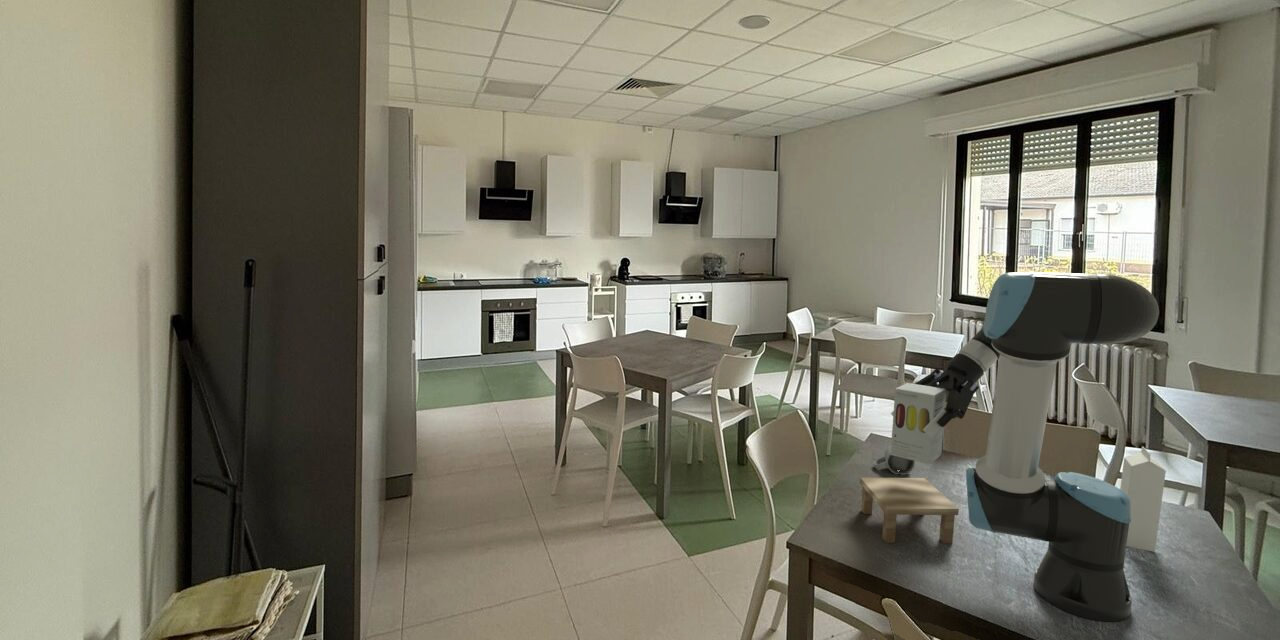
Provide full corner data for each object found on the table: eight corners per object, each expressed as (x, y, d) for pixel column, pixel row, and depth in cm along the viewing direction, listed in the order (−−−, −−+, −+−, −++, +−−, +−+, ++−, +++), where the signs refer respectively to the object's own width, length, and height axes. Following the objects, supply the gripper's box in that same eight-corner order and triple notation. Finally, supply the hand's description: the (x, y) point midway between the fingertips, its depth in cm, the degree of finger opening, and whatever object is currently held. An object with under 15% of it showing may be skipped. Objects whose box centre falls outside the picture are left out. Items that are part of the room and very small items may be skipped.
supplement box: (889, 455, 147) (893, 387, 145) (902, 446, 154) (906, 381, 151) (930, 464, 140) (935, 394, 138) (942, 455, 147) (947, 387, 145)
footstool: (955, 544, 135) (958, 508, 134) (884, 543, 135) (886, 508, 134) (921, 510, 152) (924, 478, 151) (858, 509, 152) (860, 477, 151)
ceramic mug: (908, 465, 181) (909, 441, 180) (914, 476, 173) (915, 450, 172) (871, 463, 183) (872, 439, 182) (875, 473, 176) (876, 448, 174)
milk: (1121, 546, 135) (1132, 452, 132) (1114, 534, 140) (1124, 443, 137) (1156, 552, 132) (1168, 456, 129) (1147, 539, 137) (1158, 447, 134)
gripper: (1018, 385, 135) (952, 452, 134) (947, 363, 159) (891, 420, 159) (999, 362, 133) (932, 430, 133) (930, 343, 157) (873, 401, 157)
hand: (910, 425), depth 146 cm, fingers closed on supplement box, 13 cm apart
